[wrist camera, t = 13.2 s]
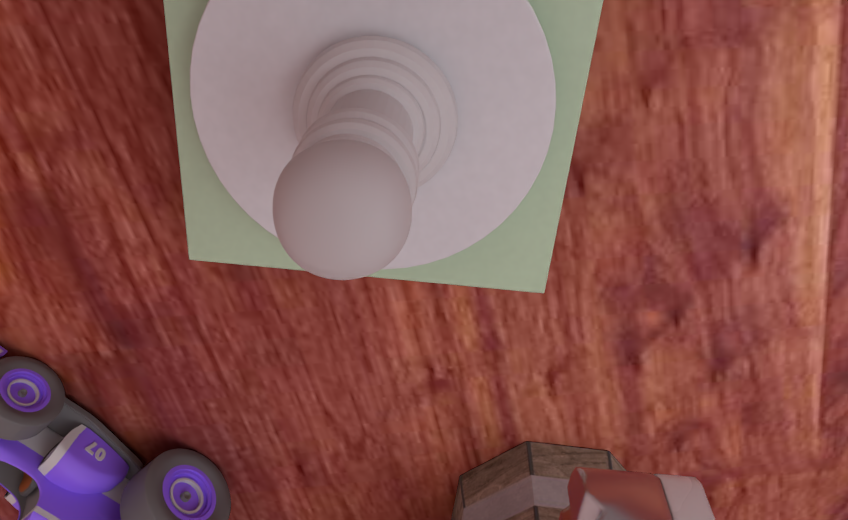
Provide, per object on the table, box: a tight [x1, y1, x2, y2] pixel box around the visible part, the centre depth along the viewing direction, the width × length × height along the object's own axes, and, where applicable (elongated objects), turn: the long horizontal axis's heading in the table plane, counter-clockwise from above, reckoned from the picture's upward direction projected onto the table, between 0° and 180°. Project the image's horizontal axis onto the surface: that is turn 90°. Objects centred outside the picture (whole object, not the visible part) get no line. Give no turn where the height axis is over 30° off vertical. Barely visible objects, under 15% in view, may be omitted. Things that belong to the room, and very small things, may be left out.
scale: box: [163, 0, 603, 293], centre depth 24 cm, size 15×14×4 cm
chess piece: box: [273, 36, 458, 280], centre depth 19 cm, size 5×5×9 cm
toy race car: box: [0, 346, 231, 520], centre depth 33 cm, size 10×15×6 cm, turn 44°
